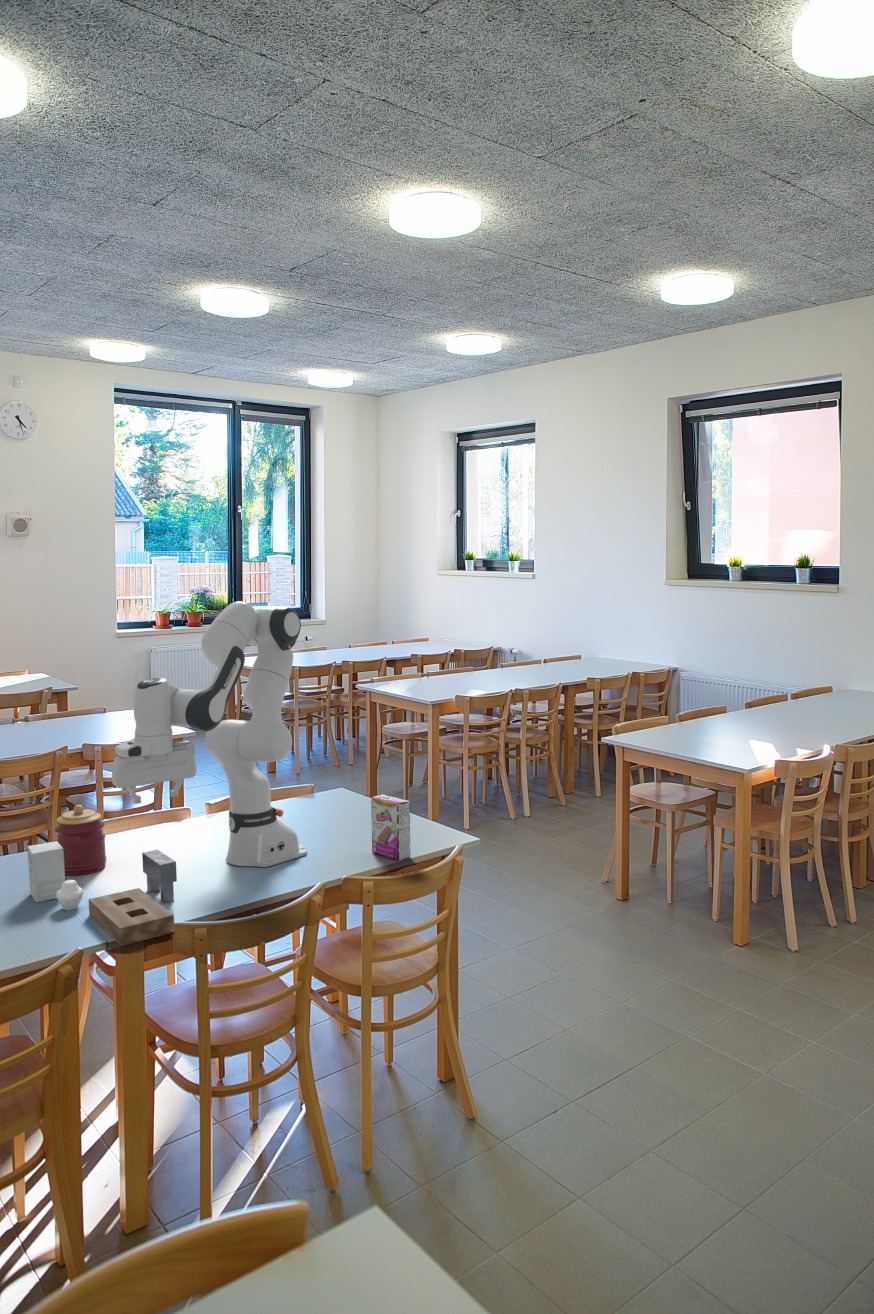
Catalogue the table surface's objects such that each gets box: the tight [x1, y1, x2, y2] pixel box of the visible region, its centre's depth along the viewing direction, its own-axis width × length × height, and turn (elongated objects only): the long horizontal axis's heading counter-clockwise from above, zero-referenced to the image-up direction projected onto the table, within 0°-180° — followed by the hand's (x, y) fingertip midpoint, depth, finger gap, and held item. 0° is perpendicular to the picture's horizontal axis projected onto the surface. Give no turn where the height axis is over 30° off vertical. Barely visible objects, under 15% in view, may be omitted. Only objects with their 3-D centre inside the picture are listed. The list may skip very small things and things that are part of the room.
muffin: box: [56, 879, 84, 911], centre depth 223 cm, size 6×6×7 cm
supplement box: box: [26, 841, 66, 903], centre depth 231 cm, size 7×7×13 cm
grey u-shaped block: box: [141, 849, 178, 904], centre depth 230 cm, size 4×12×10 cm, turn 38°
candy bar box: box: [370, 793, 411, 862], centre depth 260 cm, size 11×5×16 cm, turn 47°
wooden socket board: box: [88, 887, 175, 947], centre depth 213 cm, size 12×22×4 cm, turn 38°
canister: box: [53, 804, 107, 876], centre depth 251 cm, size 13×13×18 cm
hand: (155, 800), depth 228 cm, fingers open, 8 cm apart
